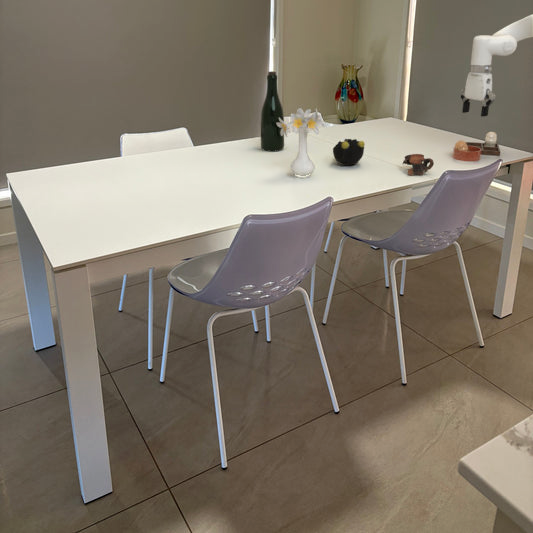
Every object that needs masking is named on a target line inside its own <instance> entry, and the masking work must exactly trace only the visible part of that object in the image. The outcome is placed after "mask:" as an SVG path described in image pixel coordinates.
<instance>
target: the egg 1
mask: <svg viewBox="0 0 533 533" xmlns="http://www.w3.org/2000/svg"><path fill="white" fill-rule="evenodd" d="M466 142H467V141H464V140H457V141H456V143H455V144H454V147H455V149H456V150H459V151H465V152H470V151H469V148H468V146H467V144H466Z"/></svg>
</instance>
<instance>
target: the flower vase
mask: <svg viewBox="0 0 533 533" xmlns="http://www.w3.org/2000/svg"><path fill="white" fill-rule="evenodd" d="M311 112H312V109H310V108H309V109H306V110H305V111H304V110H303V108H301V107H299V108H297V111H296V113H292V112H291V113H290V119H291V121H289V122H288V123H286V122H285V121H284V122H283V121H282V120H281V118H280V117H279V121H280V122H281V123H279V122H277V123H276V124H277V126H278V127H280V128H282V129H281V131H280V133H281V136H283V134H284V137H285V138H288V129H290V128H293V132H294V134H298V147H297V148H298V150H297V154H296V157H295V159H293V161H291V163H290V166H289V170H290V171H291V173H292V174H293V176H294V177H295V178H297V179H307V178H310V177H311V174H313V173H314V171H315V170H316V168H315V167H316V166H315V163H314V161H313V160H311V158H310V156H309V153H308V134H309V133H310V132H311V131H313V133H314V134H316V135H318V134H319V133H320V131H319V128H318V126H322V127H324V128H325V127H326V125H325V124H324V123H323V120H322V119H323V118H322V116H321V114H319V112H318V108H316V107H315V112H313V113H312V114H311ZM310 114H311V115H310ZM294 174H296V175H300V176H306V175H309V174H310V176H308V177H297V176H295V175H294Z"/></svg>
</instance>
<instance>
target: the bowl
mask: <svg viewBox="0 0 533 533" xmlns="http://www.w3.org/2000/svg"><path fill="white" fill-rule="evenodd" d="M468 148H469V151H470V152H465V151H459V150H456V149H455V146H454V147H453V148H452V150H453V151H452V159H453V160H456V161H460V162H461V161H462V162H478V161H480V160H481V159H482V155H481V152H482V149H481V148H479V147H475V146H468Z"/></svg>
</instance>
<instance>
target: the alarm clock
mask: <svg viewBox="0 0 533 533" xmlns="http://www.w3.org/2000/svg"><path fill="white" fill-rule="evenodd" d="M365 144H366V143H365V142H364V140H358V139H356V138H354V139H352V138H345V139H343V141H340V140H339V141H338V142H337V144H335V145H334V147H332V154H333V157H334V159H335V160H336V162H338V163H339V164H340V165H342V164H343V165H342V166H353V164H354V165H356V164H358V162H360V160H361V159H362V158H363V156H364V153H365Z"/></svg>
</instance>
